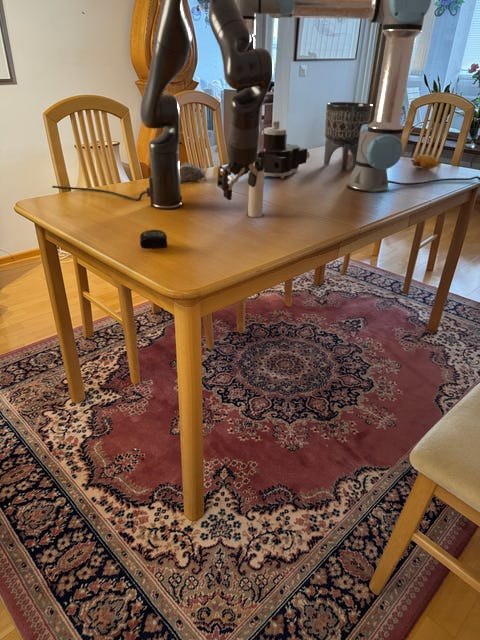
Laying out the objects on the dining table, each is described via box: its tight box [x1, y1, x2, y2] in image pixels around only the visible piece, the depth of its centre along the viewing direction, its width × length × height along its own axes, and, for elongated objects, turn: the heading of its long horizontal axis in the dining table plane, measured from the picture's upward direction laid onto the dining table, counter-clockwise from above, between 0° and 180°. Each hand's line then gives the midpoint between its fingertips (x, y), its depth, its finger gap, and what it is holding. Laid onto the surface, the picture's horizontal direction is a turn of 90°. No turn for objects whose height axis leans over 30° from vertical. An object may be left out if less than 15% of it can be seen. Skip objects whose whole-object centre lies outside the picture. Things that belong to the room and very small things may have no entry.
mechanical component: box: [258, 120, 311, 179], centre depth 191 cm, size 22×21×30 cm
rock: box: [179, 161, 207, 184], centre depth 179 cm, size 13×9×6 cm, turn 131°
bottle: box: [247, 162, 265, 218], centre depth 139 cm, size 4×4×20 cm
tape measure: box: [139, 229, 168, 250], centre depth 117 cm, size 7×7×4 cm
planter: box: [323, 101, 374, 172], centre depth 204 cm, size 20×20×26 cm
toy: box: [410, 154, 440, 170], centre depth 211 cm, size 11×6×15 cm
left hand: (239, 191), depth 123 cm, fingers open, 8 cm apart
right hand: (241, 109), depth 155 cm, fingers open, 13 cm apart
